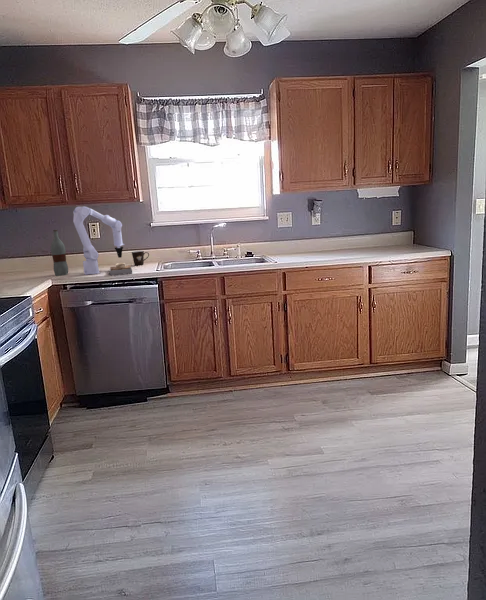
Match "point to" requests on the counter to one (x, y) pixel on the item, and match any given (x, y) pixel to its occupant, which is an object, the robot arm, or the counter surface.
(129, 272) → the box
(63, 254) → the bottle
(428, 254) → the counter surface
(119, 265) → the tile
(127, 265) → the plate
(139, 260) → the coffee mug
